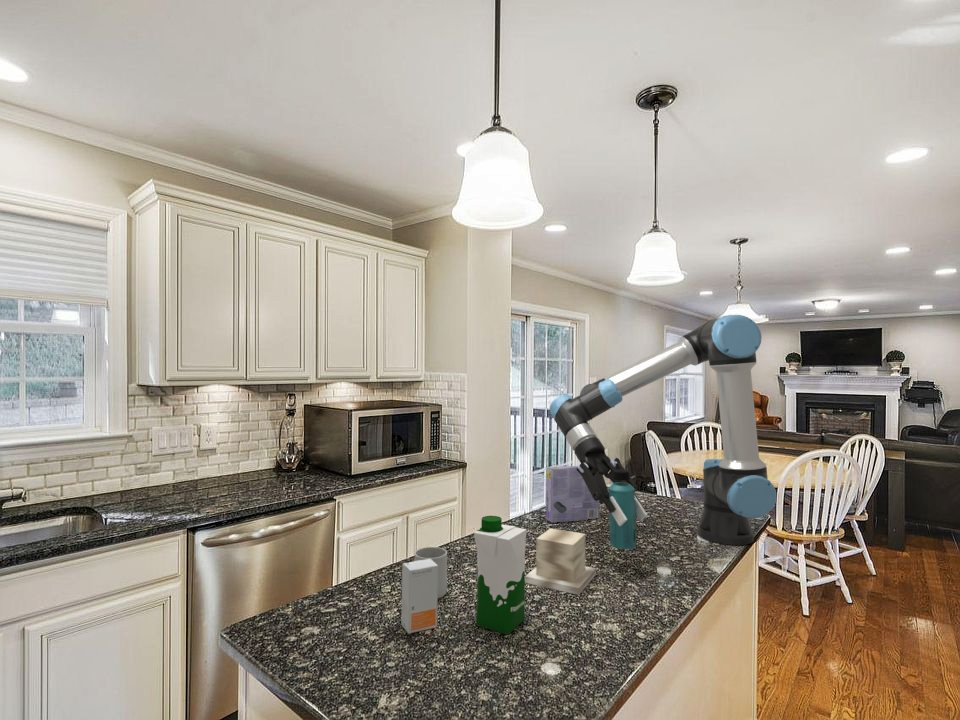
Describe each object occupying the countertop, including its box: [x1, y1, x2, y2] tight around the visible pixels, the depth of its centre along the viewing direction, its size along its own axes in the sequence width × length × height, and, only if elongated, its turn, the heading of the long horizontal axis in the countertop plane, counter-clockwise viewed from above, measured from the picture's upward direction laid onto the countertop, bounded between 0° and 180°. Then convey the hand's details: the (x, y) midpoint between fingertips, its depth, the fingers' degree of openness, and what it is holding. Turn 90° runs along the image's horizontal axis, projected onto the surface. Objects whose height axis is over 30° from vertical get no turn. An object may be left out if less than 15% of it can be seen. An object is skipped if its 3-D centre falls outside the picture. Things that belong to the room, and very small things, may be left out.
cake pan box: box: [545, 465, 601, 524], centre depth 170 cm, size 19×5×18 cm, turn 108°
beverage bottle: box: [608, 469, 638, 550], centre depth 127 cm, size 6×7×20 cm
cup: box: [414, 546, 448, 599], centre depth 113 cm, size 7×10×9 cm
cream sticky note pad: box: [525, 527, 597, 596], centre depth 122 cm, size 13×13×10 cm
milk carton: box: [473, 515, 527, 636], centre depth 101 cm, size 9×9×20 cm
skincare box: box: [400, 559, 439, 635], centre depth 99 cm, size 6×4×12 cm
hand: (633, 520), depth 124 cm, fingers closed on beverage bottle, 6 cm apart
